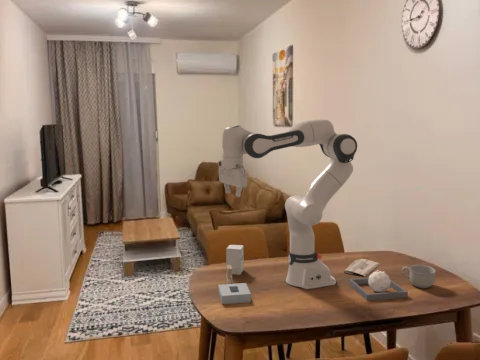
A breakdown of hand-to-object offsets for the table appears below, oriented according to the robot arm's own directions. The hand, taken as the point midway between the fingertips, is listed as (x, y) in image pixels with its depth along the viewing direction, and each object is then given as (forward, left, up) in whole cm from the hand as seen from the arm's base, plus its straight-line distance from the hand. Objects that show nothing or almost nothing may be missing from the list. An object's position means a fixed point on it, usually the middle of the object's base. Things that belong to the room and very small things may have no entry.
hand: (232, 195), depth 191 cm
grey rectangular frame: (-60, +17, -41) cm, 75 cm away
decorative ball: (-60, +17, -41) cm, 75 cm away
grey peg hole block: (+2, +13, -41) cm, 43 cm away
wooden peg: (+2, -2, -41) cm, 41 cm away
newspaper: (-65, -11, -42) cm, 78 cm away
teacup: (-81, +14, -41) cm, 92 cm away
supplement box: (-3, -17, -41) cm, 45 cm away
